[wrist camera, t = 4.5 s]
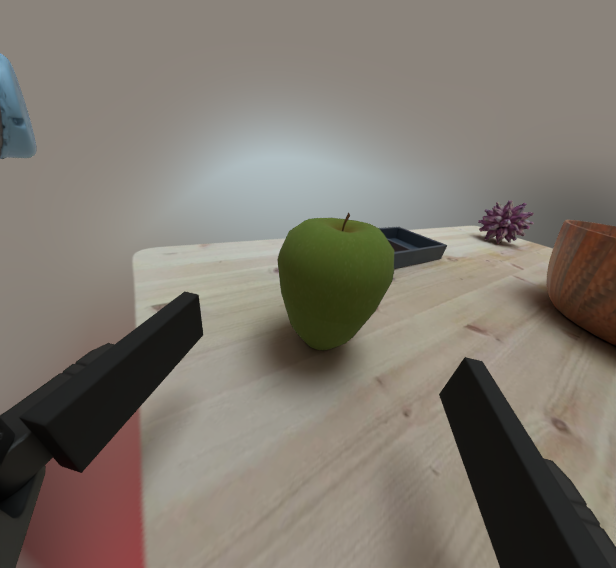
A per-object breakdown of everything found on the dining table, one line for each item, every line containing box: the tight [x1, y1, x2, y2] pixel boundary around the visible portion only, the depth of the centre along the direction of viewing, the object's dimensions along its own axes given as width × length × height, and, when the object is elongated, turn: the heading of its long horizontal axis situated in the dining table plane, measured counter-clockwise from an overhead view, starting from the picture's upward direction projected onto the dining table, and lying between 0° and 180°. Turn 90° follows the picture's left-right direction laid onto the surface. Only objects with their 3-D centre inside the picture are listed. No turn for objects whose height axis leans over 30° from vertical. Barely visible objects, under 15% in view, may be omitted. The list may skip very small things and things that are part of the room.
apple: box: [278, 213, 394, 350], centre depth 18 cm, size 9×8×12 cm
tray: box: [379, 227, 447, 269], centre depth 43 cm, size 23×12×3 cm, turn 123°
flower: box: [479, 201, 533, 244], centre depth 64 cm, size 12×12×12 cm
